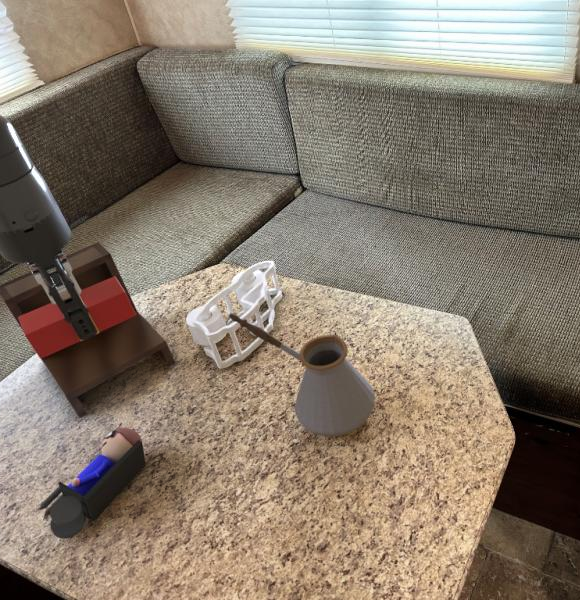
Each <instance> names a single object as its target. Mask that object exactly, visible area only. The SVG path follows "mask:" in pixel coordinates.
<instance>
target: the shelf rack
mask: <svg viewBox="0 0 580 600" xmlns="http://www.w3.org/2000/svg"><path fill="white" fill-rule="evenodd" d="M65 256H66V258H67V260H68V262H69V264H70V265H71V267H72V274H73V276H74V278H75V280H76V281H77V283H78V285H79V287H80V289H81V290H83V289H86V288H88V287H90V286H93V285H95V284H98V283H100V282H102V281H105V280H107V279H109V278H112V277H114V276H115V277H116V278H117V280H118V282H119V283H120V285H121V286H122V288H123V289H124V291H125V293H126V295H127V297H128V299H129V301H130V303H131V305H132V307H133V309H134V311H135V313H136V316H134V317H132V318H130V319H127V320H125V321H123V322H121V323H119V324H116V325H114V326H112V327H110V328H108V329H105V330H103V331H101V332H100V333H98V334H96V335H94V336H91V337H89V338H87V339H85V340H83V341H79V342H77V343H75V344H72V345H70V346H68V347H66V348H64V349H61V350H59V351H57V352H55V353H53V354H50V355H48V356H46V357H44V358H42V359H40V360H41V362H42V363H43V365H44V366H45V368H46V370H47V371H48V372H49V374H50V376H51V377H52V379H53V380H54V382H55V383H56V385H57V386H58V388H59V389H60V391H61V392H62V394H63V395H64V397H65V398H66V400H67V402H68V403H69V405H70V406H71V408H72V409H73V410H74V412H75V413H76V415H77V417H78V418H79V419H80V418H82V417H84V416H85V415H87V414H88V413H87V411H86V409H85V407H84V406H83V404H82V403H81V401H80V399H79V398H78V397H79V396H81V395H83V394H84V393H86V392H88V391H90V390H92V389H93V388H96V387H98V386H99V385H100V384H103V383H104V382H106V381H108V380H109V379H111V378H113V377H115V376H117V375H119V374H121V373H122V372H124V371H125V370H128V369H129V368H131V367H133V366H135V365H136V364H138V363H140V362H141V361H144V360H145V359H147V358H149V357H151V356H152V355H154V354H157V355H158V357H160V358H161V359H162V361H163V362H164V363H165V364H166V365H167V366H168V367H170V366H172V365H174V364H176V360H175V359H174V356H173V353H172V351H171V349H170V347H169V345H168V342H167V341H166V339H165V338H164V337H163V336H162V335H161V334H160V333H159V332H158V331H157V330H156V329H155V328H154V327H153V325H151V324H150V322H149V321H147V319H146V318H144V316H143V315H142V314H141V312H139V311H138V309H137V307H136V305H135V303H134V301H133V299H132V296H131V293H129V292H130V291H129V290H128V288H127V286H126V284H125V282H124V279H123V278H122V275H121V273H120V271H119V269H118V266H117V265H116V263H115V260H114V257H113V256H112V255H111V252H109V250H108V249H107V248H106V247H105V246H104V245H102V244H101V243H100V242H99V241H97V242H94V243H92V244H90V245H88V246H86V247H83V248H81V249H79V250H76V251H74V252H72V253H70V254H67V255H65ZM49 288H50V287H49ZM0 298H1V300H2V301H3V303H4V304H5V306H6V307H7V309H8V310H9V312H10V313H11V315H12V317H13V318H14V320H15V322H16V323H17V324H18V326H19V328H20V329H21V331H22V332H23V329H22V326H21V324H20V321H19V318H18V317H19V316H21V315H24V314H26V313H29V312H31V311H33V310H36V309H38V308H40V307H43V306H45V305H48V304H50V303H52V302H51V301H50V299H49V297H48V295H47V294H46V292H45V290H44V288H43V287H42V285H41V284H38V283H37V281H36V279H35V277H34V276H33V274H32V272H31V271H29V272H27V273H24V274H22V275H20V276H17V277H15V278H13V279H11V280H8V281H6V282H3V283H1V284H0Z"/></svg>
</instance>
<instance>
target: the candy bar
mask: <svg viewBox="0 0 580 600" xmlns="http://www.w3.org/2000/svg"><path fill="white" fill-rule="evenodd" d="M80 298H81V300H82V302H83V304H84V305H86V306H87V308H88V310H89V312H88V313H89V317H90V318H91V320H92V322H93V324H94V326H95V327H96V329H97V334H98V333H100V332H101V331H103V330H105V329H108V328H110V327H112V326H114V325H116V324H119V323H121V322H123V321H125V320H127V319H130V318H132V317H134V316H136V313H135V311H134V309H133V307H132V305H131V303H130V301H129V299H128V297H127V295H126V293H125V291H124V289H123V288H122V286H121V285H120V283H119V282H118V280H117V278H116V277H115V276H114V277H112V278H109V279H107V280H105V281H102V282H100V283H98V284H95V285H93V286H90V287H88V288H86V289H83V290H81V294H80ZM18 318H19V321H20V324H21V326H22V329H23V331H22V332H23V334H24V336H25V338H26V340H27V341H28V342H29V344H30V345H31V347H32V349H33V350H34V351H35V353H36V355H37V356H38V358H39V360H41V359H42V358H44V357H46V356H48V355H50V354H53V353H55V352H57V351H59V350H61V349H64V348H66V347H68V346H70V345H72V344H75V343H77V342H79V341H83V340H80V339H79V337H78V336H77V334H76V332H75V330H74V329H73V327H72V325H71V324H70V323H69V324H68V322H67V321H65V320H64V316H63V315H62V312H61V311H60V309H59V307H58V306H57V304H53V303H50V304H48V305H45V306H43V307H40V308H38V309H36V310H33V311H31V312H29V313H26V314H24V315H21V316H19V317H18ZM22 329H21V330H22Z"/></svg>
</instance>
